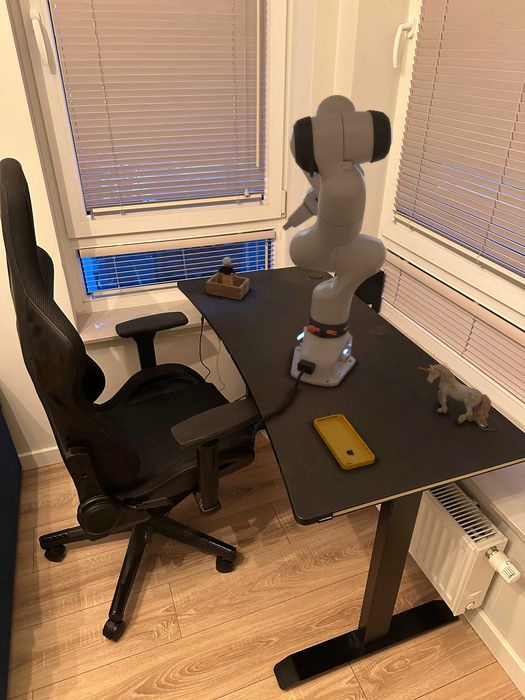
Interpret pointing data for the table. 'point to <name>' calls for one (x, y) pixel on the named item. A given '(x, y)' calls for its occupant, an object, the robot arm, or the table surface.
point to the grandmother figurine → (227, 272)
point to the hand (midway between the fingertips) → (288, 224)
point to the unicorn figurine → (459, 395)
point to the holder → (227, 287)
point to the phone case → (344, 441)
